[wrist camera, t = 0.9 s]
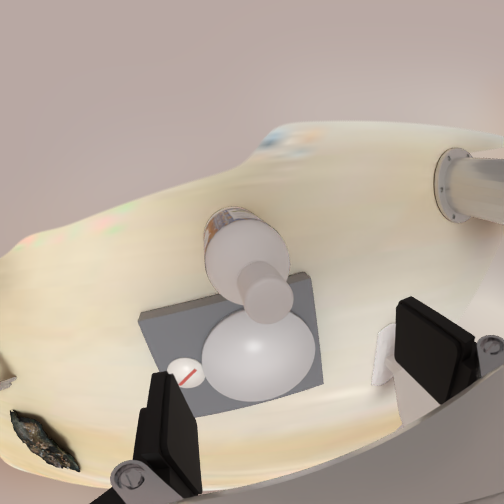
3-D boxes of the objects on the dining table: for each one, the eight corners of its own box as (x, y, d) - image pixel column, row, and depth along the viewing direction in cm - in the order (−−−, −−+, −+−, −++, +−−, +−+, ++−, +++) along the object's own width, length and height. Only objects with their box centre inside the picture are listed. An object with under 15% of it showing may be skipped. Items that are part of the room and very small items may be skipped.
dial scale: (304, 271, 38) (314, 281, 35) (318, 374, 43) (326, 388, 40) (141, 312, 36) (135, 325, 33) (183, 408, 41) (183, 424, 38)
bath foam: (202, 207, 34) (203, 246, 15) (260, 204, 35) (329, 238, 16) (205, 264, 36) (213, 359, 17) (261, 260, 37) (322, 345, 18)
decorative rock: (91, 483, 39) (39, 477, 36) (93, 462, 45) (43, 459, 42) (43, 431, 33) (-10, 425, 30) (51, 408, 39) (-1, 406, 36)
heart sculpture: (391, 384, 48) (443, 443, 31) (369, 392, 47) (419, 457, 30) (403, 314, 44) (475, 370, 26) (379, 322, 43) (450, 385, 26)
